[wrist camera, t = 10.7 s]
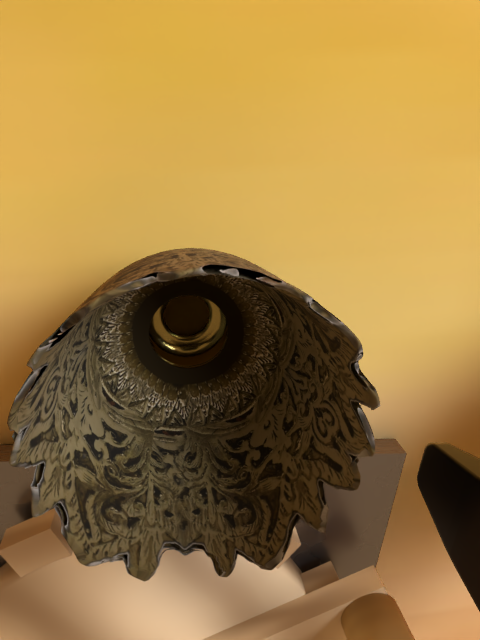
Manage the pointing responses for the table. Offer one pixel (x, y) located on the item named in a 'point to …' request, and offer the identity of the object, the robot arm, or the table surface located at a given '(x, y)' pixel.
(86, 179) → the table surface
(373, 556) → the base plate
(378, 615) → the index wheel
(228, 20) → the table surface
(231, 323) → the cup
